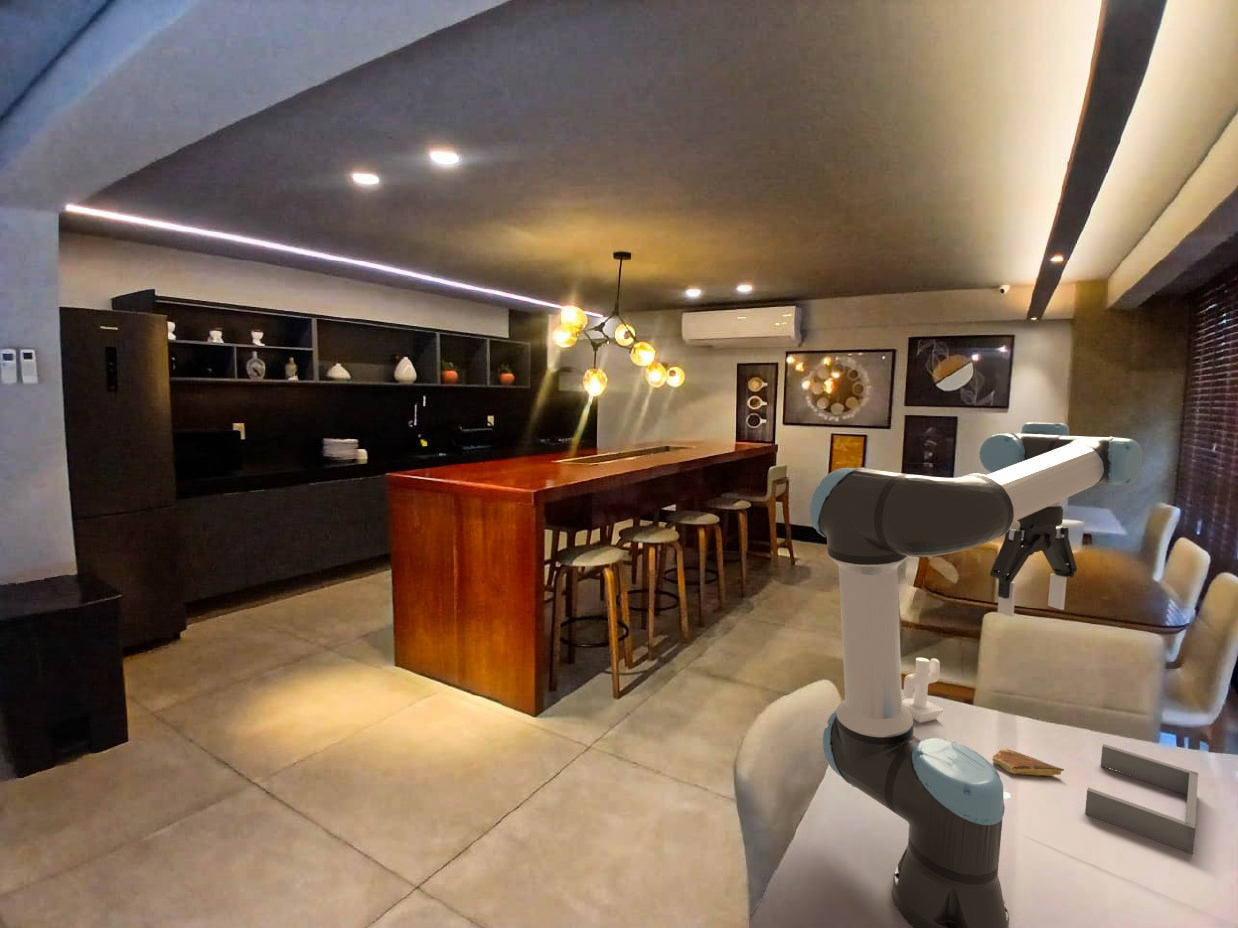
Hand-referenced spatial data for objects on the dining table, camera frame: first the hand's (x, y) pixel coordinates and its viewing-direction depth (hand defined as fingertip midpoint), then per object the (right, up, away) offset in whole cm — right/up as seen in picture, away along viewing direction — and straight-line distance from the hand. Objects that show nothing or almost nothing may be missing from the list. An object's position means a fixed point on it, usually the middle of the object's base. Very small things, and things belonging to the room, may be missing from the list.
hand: (1031, 610), depth 120 cm
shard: (+7, -36, +8) cm, 37 cm away
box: (+19, -36, -4) cm, 40 cm away
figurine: (-9, -33, +27) cm, 43 cm away
